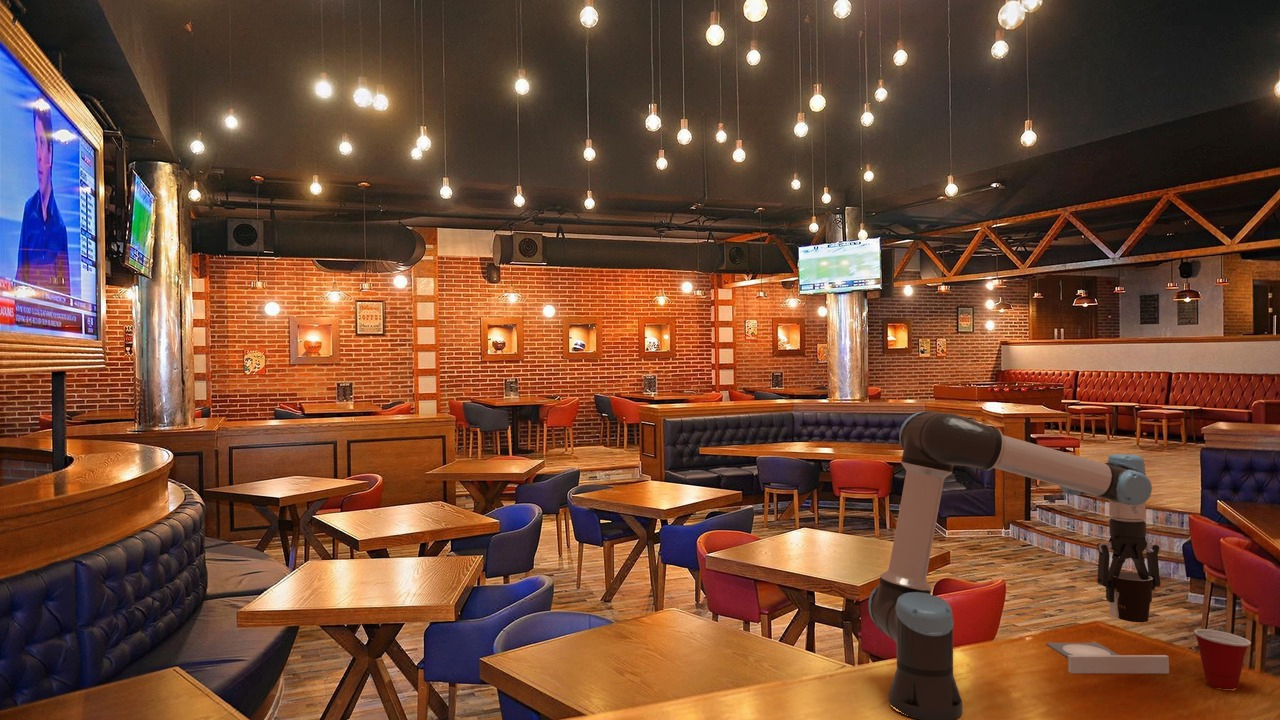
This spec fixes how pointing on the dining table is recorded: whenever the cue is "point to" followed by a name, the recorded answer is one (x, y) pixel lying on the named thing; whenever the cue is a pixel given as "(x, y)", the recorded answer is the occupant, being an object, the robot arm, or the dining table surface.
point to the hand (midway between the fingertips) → (1129, 615)
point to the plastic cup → (1221, 657)
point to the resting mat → (1080, 649)
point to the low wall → (1118, 664)
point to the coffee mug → (1133, 596)
